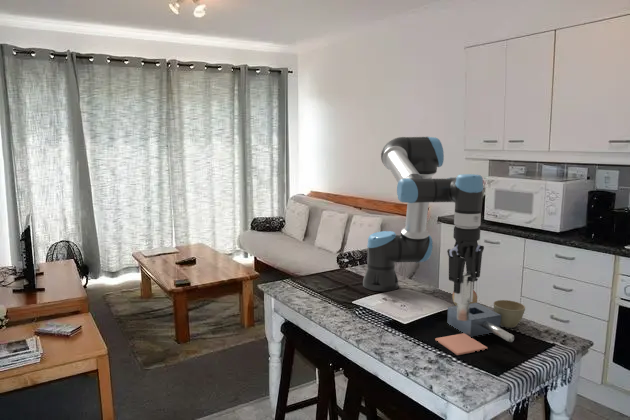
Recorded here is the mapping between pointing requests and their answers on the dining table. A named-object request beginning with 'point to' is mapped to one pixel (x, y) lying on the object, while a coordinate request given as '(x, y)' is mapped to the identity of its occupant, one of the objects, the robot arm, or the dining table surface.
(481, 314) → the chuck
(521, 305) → the beige bowl
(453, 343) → the mat
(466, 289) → the key
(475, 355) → the dining table surface
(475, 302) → the apple
